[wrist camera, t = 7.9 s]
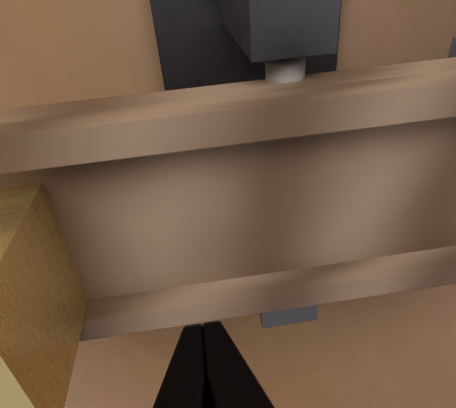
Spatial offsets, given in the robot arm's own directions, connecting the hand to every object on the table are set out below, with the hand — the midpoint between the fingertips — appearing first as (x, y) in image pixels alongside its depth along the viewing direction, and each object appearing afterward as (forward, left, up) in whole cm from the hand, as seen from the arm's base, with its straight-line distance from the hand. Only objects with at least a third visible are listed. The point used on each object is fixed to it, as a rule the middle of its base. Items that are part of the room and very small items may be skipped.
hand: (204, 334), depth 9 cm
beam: (-4, 0, -8) cm, 9 cm away
